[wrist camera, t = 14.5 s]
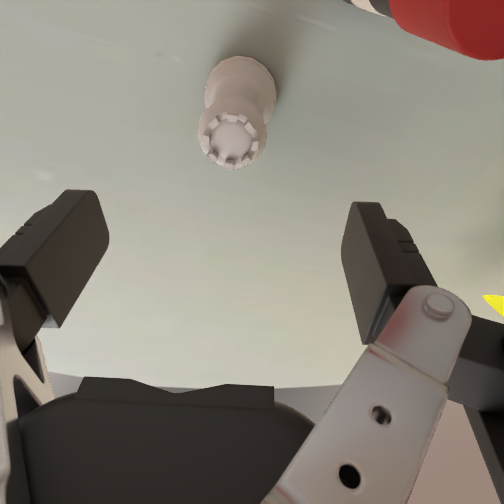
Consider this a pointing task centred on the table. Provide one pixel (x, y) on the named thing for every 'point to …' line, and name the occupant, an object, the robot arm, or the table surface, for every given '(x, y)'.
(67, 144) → the table surface
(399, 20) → the marker
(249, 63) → the rook chess piece
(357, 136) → the table surface
